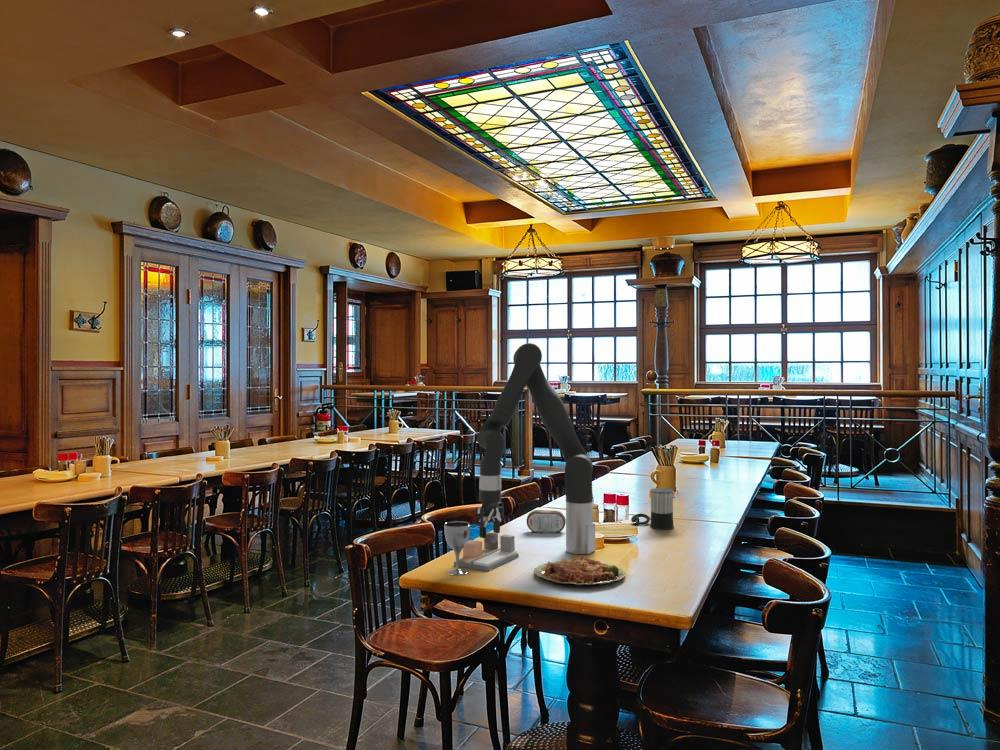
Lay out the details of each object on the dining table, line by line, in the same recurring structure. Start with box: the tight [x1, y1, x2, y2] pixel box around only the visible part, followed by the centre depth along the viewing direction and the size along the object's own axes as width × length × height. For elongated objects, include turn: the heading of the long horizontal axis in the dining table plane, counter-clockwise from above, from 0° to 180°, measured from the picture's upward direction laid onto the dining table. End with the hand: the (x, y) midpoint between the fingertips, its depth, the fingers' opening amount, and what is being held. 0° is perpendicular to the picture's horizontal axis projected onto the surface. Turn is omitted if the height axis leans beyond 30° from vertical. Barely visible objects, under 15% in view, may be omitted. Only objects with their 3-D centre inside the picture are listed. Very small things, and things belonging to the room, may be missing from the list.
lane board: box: [453, 548, 519, 572], centre depth 227 cm, size 13×19×2 cm
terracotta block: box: [462, 539, 483, 559], centre depth 226 cm, size 4×4×4 cm
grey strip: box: [473, 534, 517, 567], centre depth 226 cm, size 6×18×6 cm, turn 149°
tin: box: [526, 509, 566, 533], centre depth 267 cm, size 15×3×8 cm, turn 84°
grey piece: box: [459, 531, 500, 564], centre depth 229 cm, size 6×18×6 cm, turn 149°
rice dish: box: [533, 556, 626, 586], centre depth 211 cm, size 28×28×5 cm
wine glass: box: [443, 520, 471, 576], centre depth 215 cm, size 8×8×15 cm
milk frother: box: [630, 487, 675, 530], centre depth 277 cm, size 14×16×15 cm
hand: (489, 535), depth 236 cm, fingers open, 8 cm apart
